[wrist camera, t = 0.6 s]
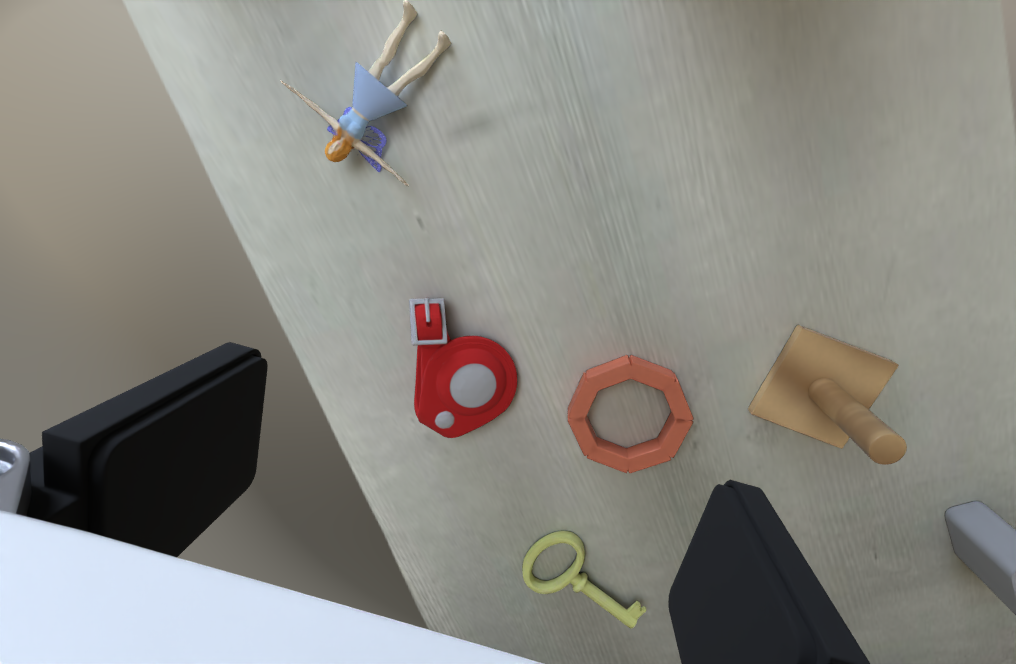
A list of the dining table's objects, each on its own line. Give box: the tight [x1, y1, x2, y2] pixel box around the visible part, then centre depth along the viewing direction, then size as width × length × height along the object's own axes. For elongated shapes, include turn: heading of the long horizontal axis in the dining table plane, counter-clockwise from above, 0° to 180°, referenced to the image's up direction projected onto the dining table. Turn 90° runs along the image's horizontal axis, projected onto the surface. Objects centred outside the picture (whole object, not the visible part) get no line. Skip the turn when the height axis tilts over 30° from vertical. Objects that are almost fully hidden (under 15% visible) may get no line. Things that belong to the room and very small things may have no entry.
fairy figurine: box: [281, 0, 451, 186], centre depth 38 cm, size 12×5×12 cm
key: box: [522, 531, 646, 629], centre depth 50 cm, size 7×12×2 cm, turn 73°
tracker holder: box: [409, 298, 517, 438], centre depth 44 cm, size 12×4×10 cm
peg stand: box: [748, 325, 907, 464], centre depth 38 cm, size 8×8×10 cm
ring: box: [568, 355, 693, 473], centre depth 44 cm, size 10×10×2 cm
